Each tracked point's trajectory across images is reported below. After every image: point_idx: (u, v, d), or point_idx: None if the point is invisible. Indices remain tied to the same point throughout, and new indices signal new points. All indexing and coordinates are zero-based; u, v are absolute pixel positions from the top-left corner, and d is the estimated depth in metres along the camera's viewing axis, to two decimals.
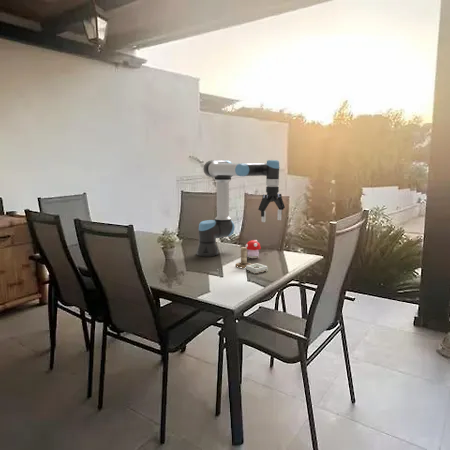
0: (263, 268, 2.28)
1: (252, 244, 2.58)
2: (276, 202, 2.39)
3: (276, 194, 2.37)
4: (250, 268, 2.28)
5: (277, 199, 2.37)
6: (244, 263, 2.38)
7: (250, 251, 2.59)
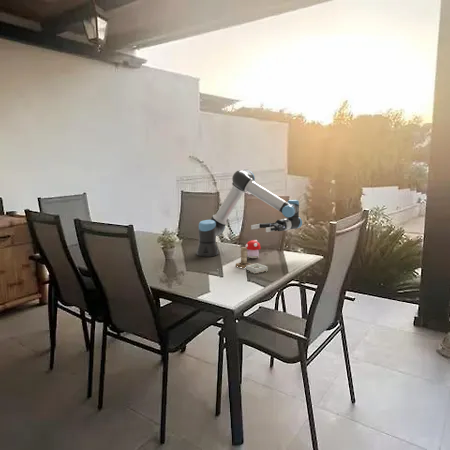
0: (263, 268, 2.28)
1: (252, 244, 2.58)
2: (267, 226, 2.53)
3: None
4: (250, 268, 2.28)
5: None
6: (244, 263, 2.38)
7: (250, 251, 2.59)
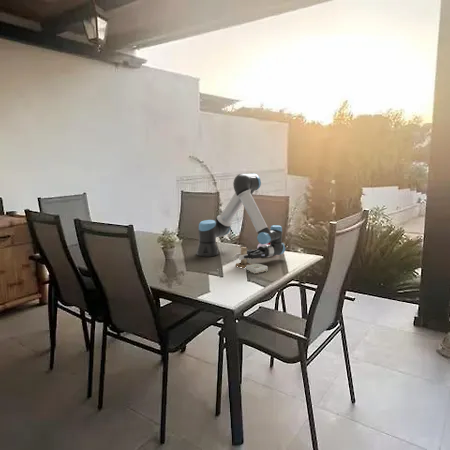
0: (263, 268, 2.28)
1: None
2: (251, 254, 2.44)
3: None
4: (250, 268, 2.28)
5: None
6: (244, 263, 2.38)
7: None
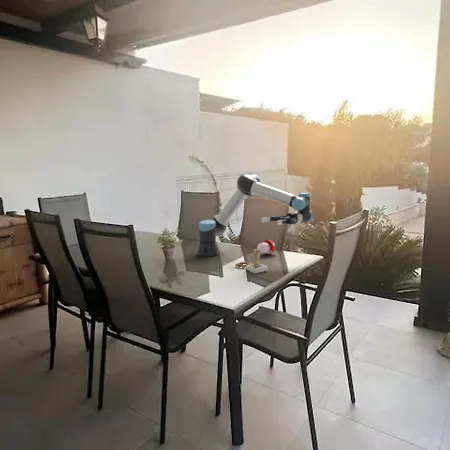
0: (263, 268, 2.28)
1: (274, 249, 2.69)
2: (278, 219, 2.46)
3: None
4: (250, 268, 2.28)
5: None
6: (257, 266, 2.29)
7: (268, 248, 2.67)
